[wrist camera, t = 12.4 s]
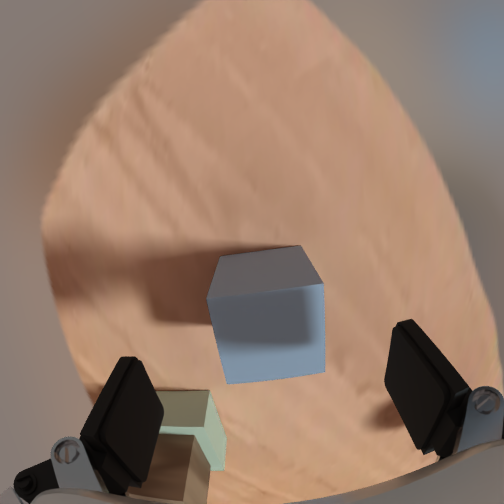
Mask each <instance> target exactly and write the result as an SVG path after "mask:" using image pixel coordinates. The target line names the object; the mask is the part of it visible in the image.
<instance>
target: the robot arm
mask: <svg viewBox="0 0 504 504" xmlns="http://www.w3.org/2000/svg"><path fill="white" fill-rule="evenodd" d="M384 382H385V386H386V389H387V390H388V392H389V394H390V396H391V398H392V400H393V402H394V404H395V406H396V408H397V410H398V412H399V414H400V416H401V418H402V420H403V422H404V424H405V426H406V428H407V430H408V432H409V434H410V436H411V438H412V440H413V442H414V444H415V447H416V448H417V449H418V450H420V449H421V450H422V452H423V455H425V454H427V453H430V452H432V451H434V450H435V452H436V454H437V455H438V456H437V459H436V462H435V463H433V464H431V465H428V466H426V467H424V468H421V469H419V470H416V471H414V472H411V473H408V474H406V475H403V476H400V477H397V478H394V479H392V480H389V481H386V482H383V483H379V484H376V485H373V486H369V487H366V488H362V489H359V490H355V491H351V492H347V493H343V494H338V495H334V496H329V497H324V498H318V499H313V500H307V501H300V502H293V503H285V504H504V398H503V396H502V394H501V393H500V392H499V391H498V390H497V389H495V388H493V387H489V386H482V387H478V388H476V389H475V390H473V391H472V390H471V388H470V387H469V386H468V385H467V383H466V382H465V381H464V379H463V378H462V377H461V376H460V374H459V373H458V372H457V371H456V369H455V368H454V367H453V366H452V364H451V363H450V362H449V361H448V360H447V358H446V357H445V356H444V355H443V354H442V352H441V351H440V350H439V349H438V348H437V347H436V345H435V344H434V343H433V342H432V341H431V340H430V338H429V337H428V336H427V335H426V334H425V333H424V331H423V330H422V329H421V328H420V327H419V326H418V325H417V324H416V322H415V321H414V320H413V319H409V320H405V321H401V322H398V323H397V324H396V327H394V328H393V330H392V337H391V344H390V350H389V356H388V362H387V368H386V373H385V379H384ZM163 417H164V408H163V405H162V403H161V401H160V399H159V397H158V395H157V393H156V391H155V389H154V387H153V385H152V383H151V381H150V379H149V376H148V374H147V372H146V370H145V368H144V365H143V363H142V361H140V360H138V359H137V358H136V357H121V358H120V359H119V361H118V362H117V364H116V366H115V368H114V369H113V371H112V373H111V375H110V377H109V379H108V380H107V382H106V384H105V386H104V388H103V390H102V392H101V393H100V395H99V397H98V399H97V401H96V403H95V405H94V407H93V409H92V411H91V413H90V415H89V416H88V418H87V420H86V423H85V424H84V427H83V429H82V430H81V433H80V435H81V436H80V439H77V438H75V437H64V438H62V439H60V440H58V441H57V442H56V443H55V444H54V446H53V447H52V449H51V459H49V460H47V461H44V462H42V463H40V464H37V465H35V466H33V467H30V468H28V469H25V470H23V471H21V472H19V473H18V475H17V476H16V478H15V480H14V489H13V488H12V487H9V488H8V489H7V490H5V491H4V492H3V493H2V494H0V504H170V503H162V502H155V501H148V500H141V499H135V498H131V497H130V495H129V494H128V492H127V490H128V487H129V486H131V487H136V488H141V487H142V483H143V482H145V481H146V480H147V477H148V473H149V469H150V465H151V461H152V457H153V454H154V450H155V446H156V442H157V439H158V435H159V431H160V428H161V424H162V420H163Z"/></svg>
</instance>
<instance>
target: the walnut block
mask: <svg viewBox="0 0 504 504" xmlns="http://www.w3.org/2000/svg"><path fill="white" fill-rule="evenodd" d="M210 469H211V465H210V463H209V462H208V460H207V458H206V456H205V454H204V452H203V451H202V449H201V447H200V445H199V443H198V441H197V439H196V437H195V435H176V434H159V435H158V439H157V442H156V446H155V450H154V454H153V457H152V461H151V465H150V469H149V473H148V477H147V480H146V481H145V482H143V483H142V487H141V488H136V487H131V486H129V487H128V490H127V492H128V494H129V495H130V497H131V498H135V499H141V500H148V501H155V502H162V503H170V504H207V496H208V487H209V478H210Z"/></svg>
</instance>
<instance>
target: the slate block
mask: <svg viewBox="0 0 504 504" xmlns="http://www.w3.org/2000/svg"><path fill="white" fill-rule="evenodd" d="M206 300H207V305H208V309H209V314H210V318H211V322H212V326H213V331H214V335H215V339H216V343H217V347H218V351H219V355H220V359H221V363H222V367H223V371H224V374H225V378H226V382H227V384H237V383H249V382H259V381H268V380H276V379H284V378H291V377H298V376H305V375H311V374H317V373H323V372H325V310H324V283H323V282H322V280H321V278H320V277H319V275H318V273H317V272H316V270H315V268H314V266H313V265H312V263H311V261H310V260H309V258H308V256H307V255H306V253H305V251H304V250H303V248H302V247H301V246H293V247H286V248H278V249H270V250H263V251H255V252H248V253H240V254H233V255H225V256H220V258H219V261H218V264H217V267H216V270H215V273H214V276H213V279H212V282H211V285H210V288H209V291H208V294H207V297H206Z"/></svg>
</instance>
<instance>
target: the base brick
mask: <svg viewBox="0 0 504 504" xmlns="http://www.w3.org/2000/svg"><path fill="white" fill-rule="evenodd" d="M156 393H157V395H158V397H159V399H160V401H161V403H162V405H163V408H164V417H163V420H162V424H161V428H160V431H159V434H176V435H195V437H196V439H197V441H198V443H199V445H200V447H201V449H202V451H203V452H204V454H205V456H206V458H207V460H208V462H209V463H210V465H211V469H210V471H224V468H225V455H226V442H227V437H226V435H225V432H224V429H223V427H222V424H221V421H220V418H219V415H218V413H217V410H216V407H215V404H214V401H213V398H212V395H211V392H210V390H205V391H156Z"/></svg>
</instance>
